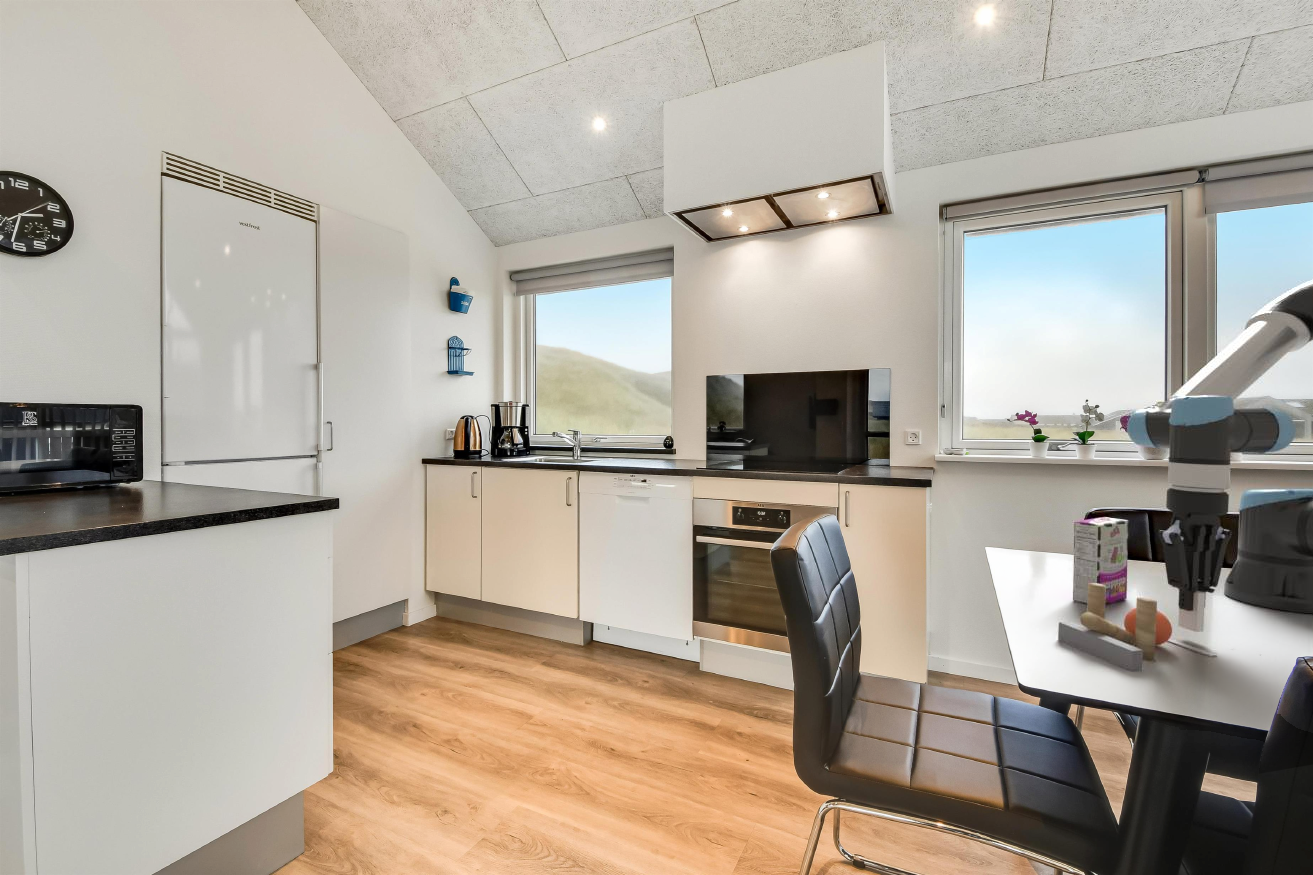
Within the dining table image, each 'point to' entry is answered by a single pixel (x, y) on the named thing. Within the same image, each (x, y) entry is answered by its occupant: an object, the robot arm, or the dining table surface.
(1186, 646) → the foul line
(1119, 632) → the front pin
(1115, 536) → the candy bar box
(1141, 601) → the back pin left
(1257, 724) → the dining table surface
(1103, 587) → the back pin right
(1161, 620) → the ball
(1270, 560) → the robot arm
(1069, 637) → the rail
